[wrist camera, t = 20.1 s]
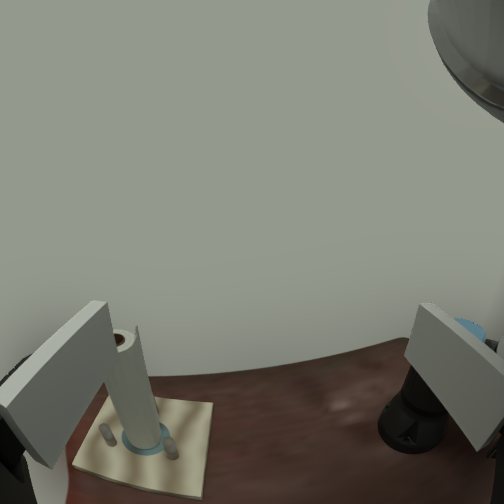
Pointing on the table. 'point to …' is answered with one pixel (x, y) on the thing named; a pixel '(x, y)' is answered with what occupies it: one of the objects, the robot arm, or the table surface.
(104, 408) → the plate
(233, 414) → the table surface
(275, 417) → the table surface
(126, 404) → the paper towel roll
